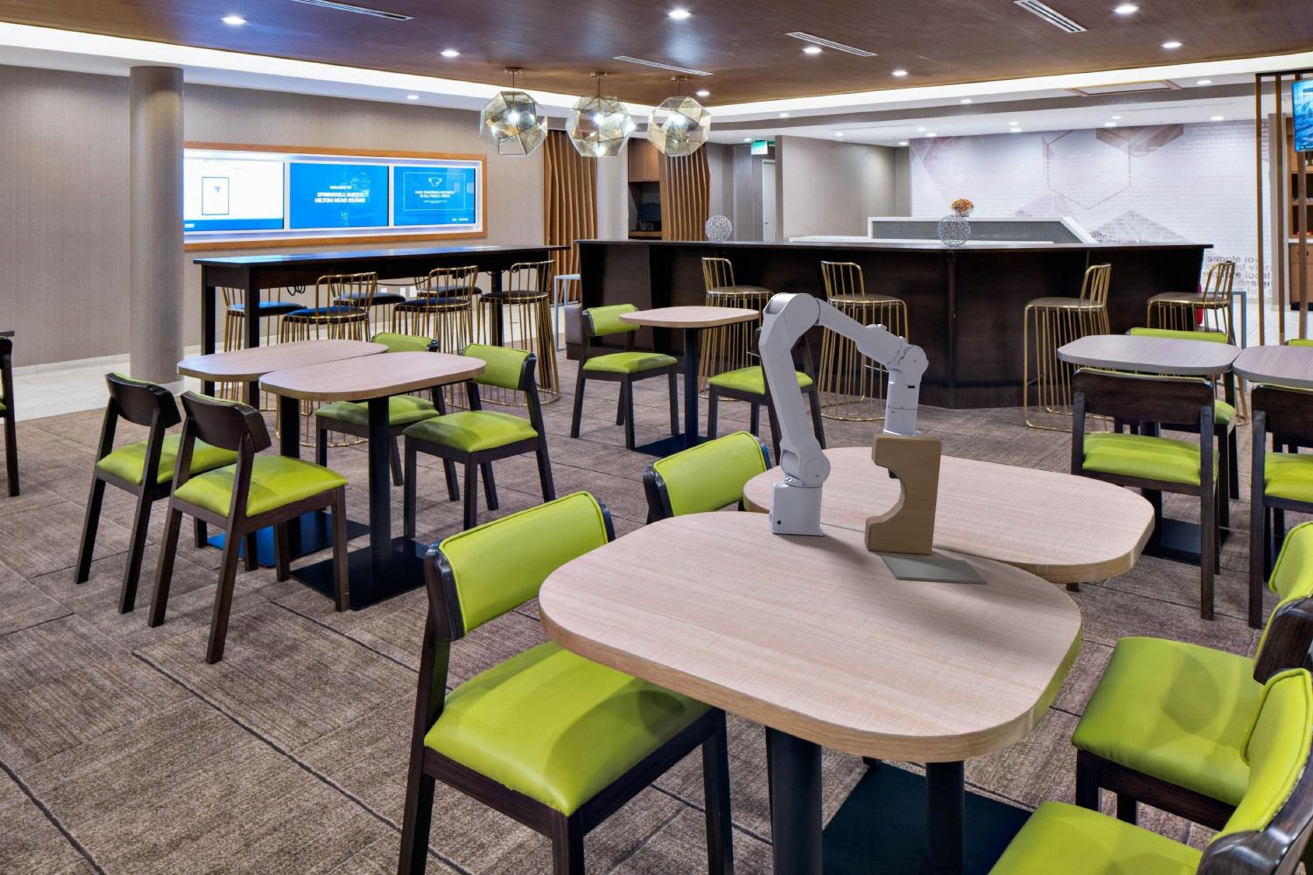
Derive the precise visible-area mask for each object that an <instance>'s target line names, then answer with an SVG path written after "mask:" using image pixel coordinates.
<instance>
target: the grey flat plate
mask: <svg viewBox="0 0 1313 875" xmlns="http://www.w3.org/2000/svg"><path fill="white" fill-rule="evenodd" d="M881 559H882V561H883V562H884V564H885V565H886V566H887V567H888V569H889V571H890V572H891V574H892V575H893V576H894V577H895V580H907V581H908V580H909V581H911V580H912V581H923V582H924V581H925V582H941V583H942V582H943V583H956V584H957V583H961V584H962V583H963V584H976V585H977V584H979V585H987V584H988V580H986V579H985V578H984V577H983V576H982V575H981V574H980V573H979V572H977V570H976V569H974V567H972V566H971V565H970V564H969V563H968V562H967V561H966V560H960V559H943V558H927V557H926V558H924V557H909V556H893V555H892V556H890V555H881Z"/></svg>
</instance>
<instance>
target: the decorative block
mask: <svg viewBox="0 0 1313 875" xmlns="http://www.w3.org/2000/svg"><path fill="white" fill-rule="evenodd" d="M942 448H943V442H941V440H939V439H938V438H936V437H935V436H922V435H921V436H906V435H890V434H883V433H874V434H873V435H872V444H871V455H870V456H871V457H870V458H871V460H872V462H873V463H874V464H875V466H877V467H881V468H884V469H887V470H888V469H889V470H890V471H892V472H893V473H894V474H895V475H896V476H897V477H898V479H897V480H899V485H900V494H899V496H898V501H897V502H896V503H894V505H893V506H892V507H891V508H890V509H889V510H888V511H886V512H884V513H883V514H880V515H877V516H868V517H867V518H866V519H865V528H864V530H865V531H864V538H863V539H864V541H863V542H864V545H865V547H866V549H867V550H868V551H869V552H880V553H881V552H882V553H894V554H895V553H896V554H906V555H907V554H909V555H922V556H931V554H933V546H934V545H933V544H934V531H935V521H936V511H937V510H936V509H937V502H938V492H939V480H940V469H941V458H942V457H941V456H942V450H943V449H942Z"/></svg>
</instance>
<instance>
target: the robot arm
mask: <svg viewBox="0 0 1313 875" xmlns="http://www.w3.org/2000/svg"><path fill="white" fill-rule="evenodd" d="M762 314H763V316H762V317H763V320H762V327H761V331H760V335H759V340H758V350H759V354H760V358H761V360H762V365H763V367H764V368H763V369H764V372H765V376H766V380H767V383H768V387H769V390H770V394H771V398H772V401H773V405H774V409H775V413H776V416H777V421H778V423H779V428H780V430H781V435H782V438H781V440H780V442H779V447H780V457H779V465H780V466H779V467H780V470H781V471H782V472H783V473H784V477H783V482H773V483H772V485H771V494H770V508H769V513H768V525H769V527H770V529H771V532H772V533H773V534H787V535H801V536H802V535H803V536H804V535H805V536H806V535H807V536H821V537H822V536H824V535H825V532H824V531H823V529H822V527H821V516H822V515H821V513H822V502H823V500H822V499H823V488H824V487H823V486H824V483H825V482H826V481H827V480H828V478H829V476H830V473H831V470H832V469H831V468H832V466H831V462H830V460H829V458H828V456H827V455H826V454H824V452H823V451H822V446H821V444H820V442H819V440H818V439H817V438H816V436H815V434H813V432H812V429H811V425H810V421H809V418H808V413H807V409H806V406H805V402H804V398H803V395H802V391H801V388H800V383H799V379H798V376H797V372H796V368H795V364H794V360H793V357H792V356H793V355H792V353H791V349H792V348H793V346H794V345H795V343H796V342H797V341H798V339H799V337H801V336H802V335H804V334H805V333H806V332H807V331H808V330H809V329H811V327H812V326H823V327H825V328H827V329H830V330H831V331H833V332H835V333H837V334H839V335H841V336H844V337H845V338H847V339H850V340H852V341H853V342H855V345H856V349H857V351H858V352H859V353H861V354H863V355H864V356H867V357H868V358H870V359H872V360H873V361H875V362H877V363H879V364H881V365H883V366H884V367H885V369H886V370H887V371H888V372H889V374H888V384H887V393H886V395H887V396H886V404H885V417H884V427H883V430H882V434H890V435H906V436H922V432H921V431H918V430H916V425H917V416H918V407H919V406H918V405H919V394H920V393H919V392H920V385H921V384H920V383H921V382H922V375H924V373H925V371H926V370H927V368H928V366H929V362H930V361H929V360H928V359H927V356H926V353H925V352H924V350H923V348H922V347H920V346H919V345H916V344H908V343H907V339H906V338H905V337H904V336H897V335H895V334H893V333H891V332H889V331H887V329H888V328H887V326H886V325H884V324H875V323H873V324H869V325H867V326H865V325H863V324H861V323H860V322H859V321H857V320H855V319H854V318H852V317H850V316H849V315H848V314H845V313H844V312H842V311H841V310H839V309H838V308H836V307H834V306H833V305H832V304H829V303H828V302H826V301H824V300H823V299H821V298H817V297H816V298H815V297H814V296H813V295H811V294H810V293H803V292H801V293H788V292H779V293H777V294H775V295H773V296H772V297H771V298H770V299H769V301H768V303H767V304H766V305H765V307H764V308H763V310H762ZM887 473H888V478H889V479H893V480H899V479H898V477H897V476H896V475H895V474H894V473H893V472H892V471H890V470H889V469H888V468H887Z"/></svg>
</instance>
